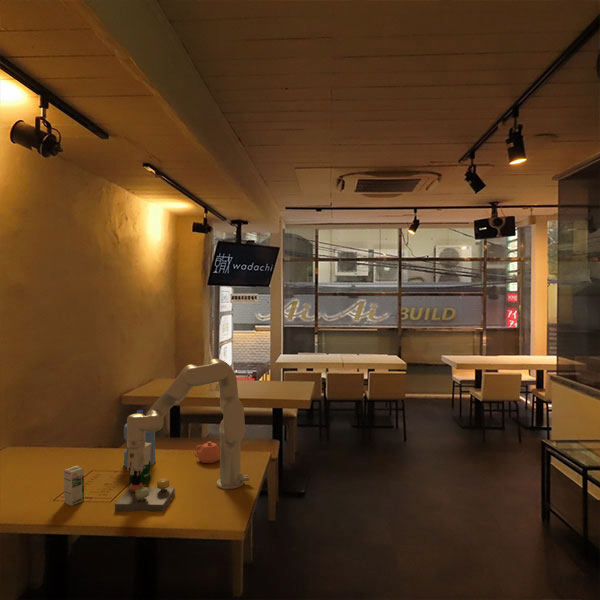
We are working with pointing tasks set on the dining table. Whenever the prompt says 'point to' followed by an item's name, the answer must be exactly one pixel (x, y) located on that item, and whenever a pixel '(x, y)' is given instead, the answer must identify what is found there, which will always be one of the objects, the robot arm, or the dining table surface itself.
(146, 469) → the milk carton
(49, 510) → the dining table surface
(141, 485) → the red rounded lump
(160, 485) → the tan rounded piece
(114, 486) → the dining table surface
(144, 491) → the pale green ball
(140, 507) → the plate
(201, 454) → the sugar bowl
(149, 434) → the water jug
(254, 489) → the dining table surface
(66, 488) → the syrup box
